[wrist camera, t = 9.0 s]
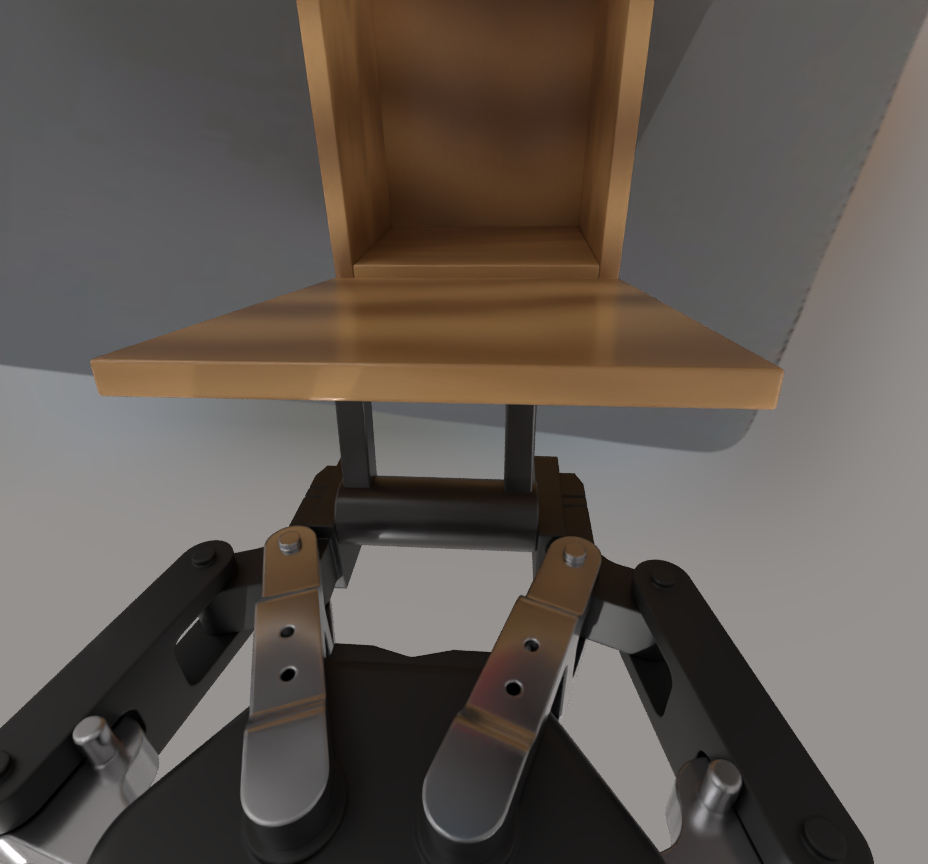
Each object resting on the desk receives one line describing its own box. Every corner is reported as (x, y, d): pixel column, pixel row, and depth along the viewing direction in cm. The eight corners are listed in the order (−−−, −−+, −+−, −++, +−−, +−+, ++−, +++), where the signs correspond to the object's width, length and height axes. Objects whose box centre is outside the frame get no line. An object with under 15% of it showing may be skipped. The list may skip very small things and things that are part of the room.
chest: (353, -67, 27) (273, -155, 18) (621, -81, 26) (678, -181, 17) (382, 239, 34) (336, 284, 26) (590, 238, 33) (617, 284, 25)
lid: (86, 359, 11) (148, 582, 13) (787, 369, 9) (732, 611, 11) (333, 278, 25) (343, 387, 27) (620, 278, 24) (609, 392, 26)
